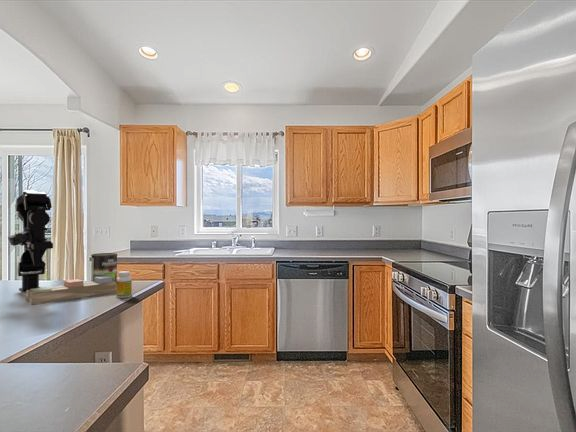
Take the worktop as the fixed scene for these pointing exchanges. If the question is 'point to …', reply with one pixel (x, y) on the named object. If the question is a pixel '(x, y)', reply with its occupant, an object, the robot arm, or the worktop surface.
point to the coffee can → (104, 265)
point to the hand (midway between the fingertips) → (35, 265)
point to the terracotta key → (73, 283)
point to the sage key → (40, 289)
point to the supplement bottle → (124, 285)
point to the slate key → (102, 279)
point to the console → (69, 292)
